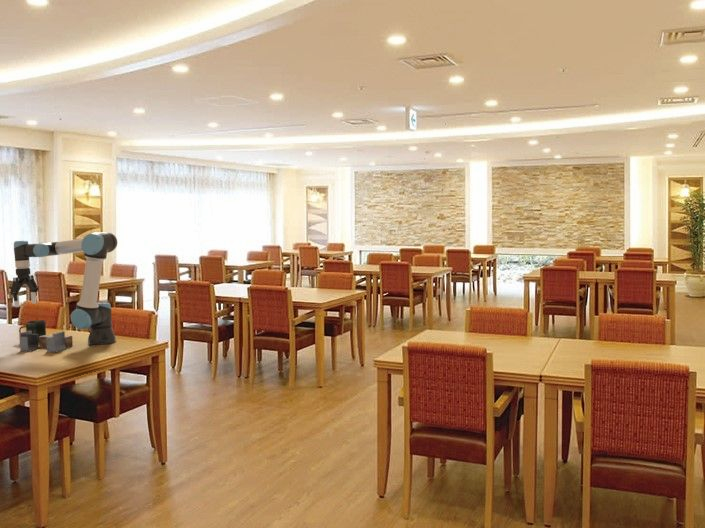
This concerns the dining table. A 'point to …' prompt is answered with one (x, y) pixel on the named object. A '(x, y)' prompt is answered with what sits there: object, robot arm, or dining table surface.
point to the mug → (35, 327)
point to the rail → (43, 338)
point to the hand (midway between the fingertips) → (25, 305)
